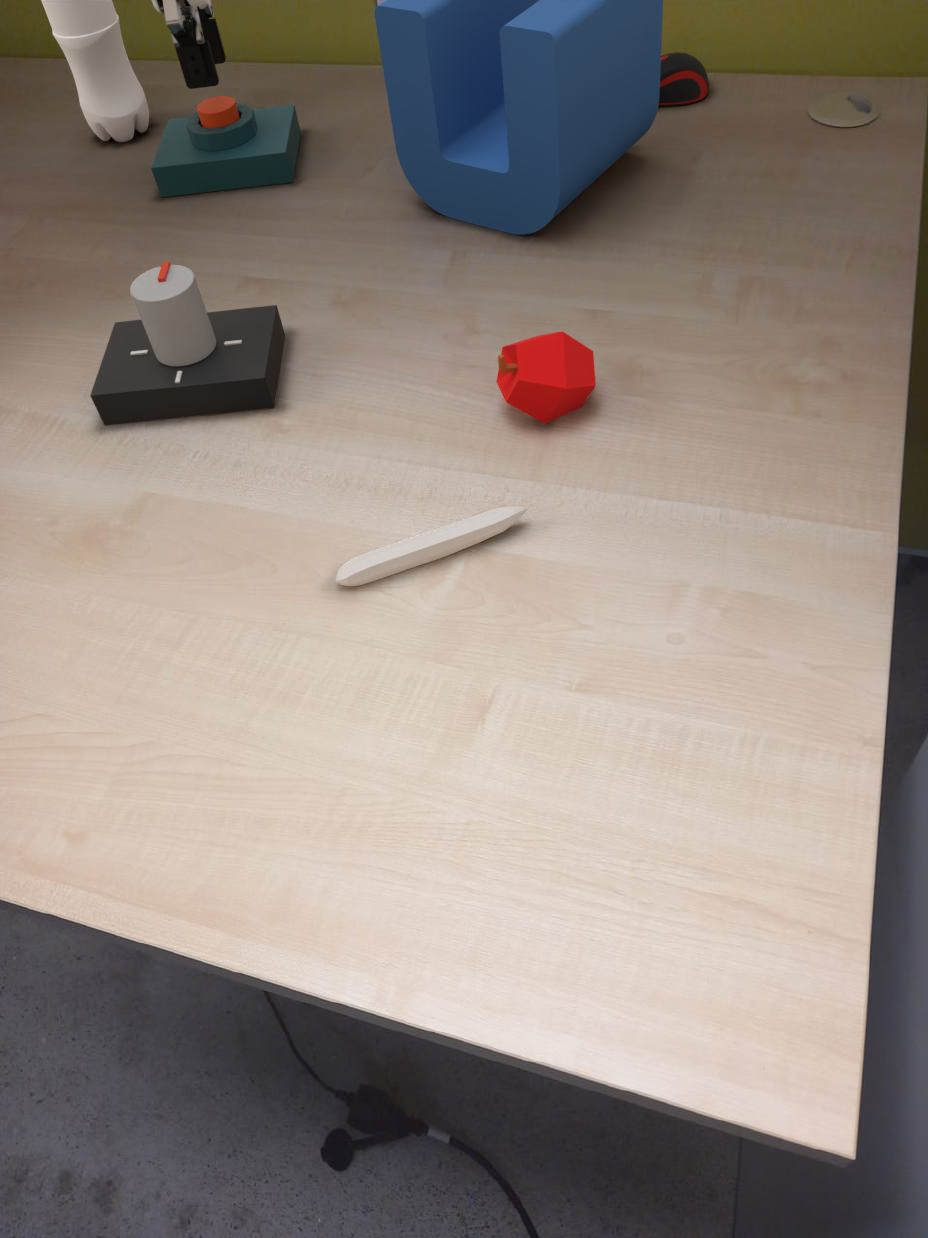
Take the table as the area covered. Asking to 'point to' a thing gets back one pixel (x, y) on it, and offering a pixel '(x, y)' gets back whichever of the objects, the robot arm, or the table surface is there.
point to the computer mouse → (682, 80)
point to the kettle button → (218, 112)
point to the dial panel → (192, 371)
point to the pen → (427, 546)
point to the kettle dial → (173, 314)
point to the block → (516, 99)
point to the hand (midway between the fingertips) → (207, 72)
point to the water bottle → (99, 66)
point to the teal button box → (228, 152)
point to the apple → (546, 375)
